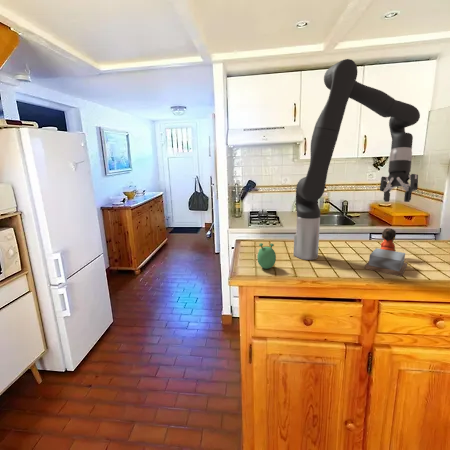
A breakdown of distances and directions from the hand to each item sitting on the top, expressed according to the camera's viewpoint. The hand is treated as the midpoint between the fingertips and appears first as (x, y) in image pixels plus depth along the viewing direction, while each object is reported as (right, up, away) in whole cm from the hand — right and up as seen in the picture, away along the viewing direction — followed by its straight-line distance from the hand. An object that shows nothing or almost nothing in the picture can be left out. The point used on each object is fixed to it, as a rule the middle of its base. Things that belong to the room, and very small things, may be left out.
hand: (396, 201), depth 114 cm
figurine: (-1, -23, +5) cm, 23 cm away
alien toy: (-52, -26, -4) cm, 59 cm away
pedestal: (-7, -25, -6) cm, 27 cm away
